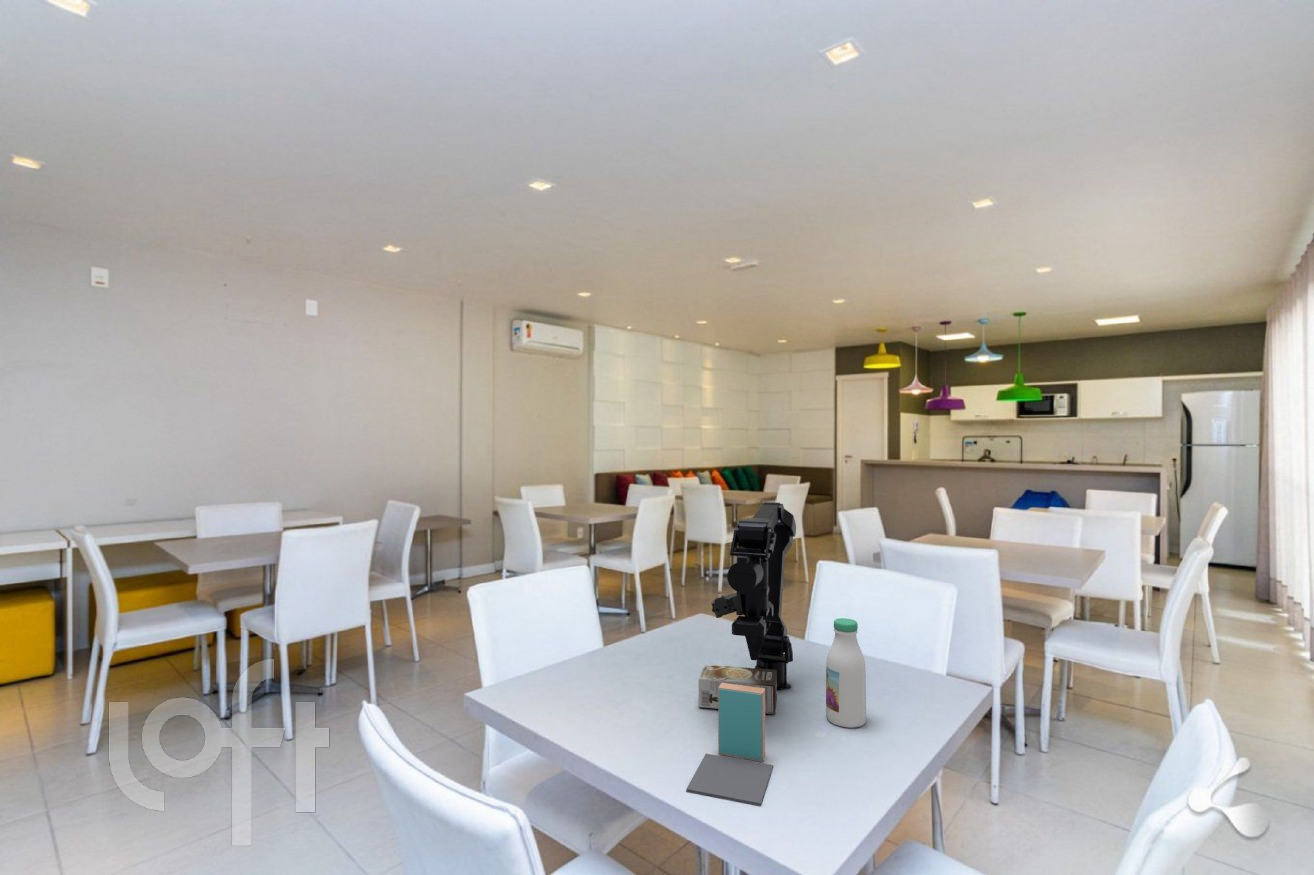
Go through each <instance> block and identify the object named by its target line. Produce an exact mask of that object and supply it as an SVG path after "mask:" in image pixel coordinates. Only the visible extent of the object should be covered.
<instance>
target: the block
mask: <svg viewBox="0 0 1314 875" xmlns="http://www.w3.org/2000/svg"><path fill="white" fill-rule="evenodd" d="M717 712H718V714H717V716H718V717H717V720H718V722H717V723H718V727H717V729H718V730H717V733H718V737H717V738H718V739H717V740H718V745H717V747H718V750H717V751H718V754H717V755H719V756H724V757H730V758H736V759H742V760H748V761H753V762H759V763H763V762H764V760H765V758H766V713H765V688H758V687H751V686H743V685H736V684H728V683H721V684H720V686H719V687H718V711H717Z"/></svg>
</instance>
